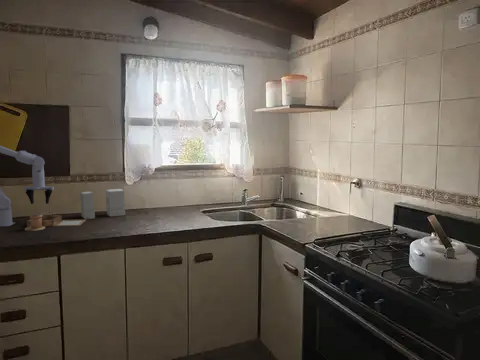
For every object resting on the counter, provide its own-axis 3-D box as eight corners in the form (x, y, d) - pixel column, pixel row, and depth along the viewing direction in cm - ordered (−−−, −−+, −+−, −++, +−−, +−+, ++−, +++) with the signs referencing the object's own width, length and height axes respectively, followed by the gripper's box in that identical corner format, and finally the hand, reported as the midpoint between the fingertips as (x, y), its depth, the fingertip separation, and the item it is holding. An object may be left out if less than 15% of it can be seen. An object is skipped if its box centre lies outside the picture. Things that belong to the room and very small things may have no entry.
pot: (28, 228, 192) (27, 216, 192) (33, 226, 198) (32, 214, 197) (40, 228, 193) (39, 216, 192) (44, 225, 198) (44, 214, 198)
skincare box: (95, 218, 221) (94, 192, 219) (83, 219, 218) (82, 193, 216) (91, 216, 228) (90, 190, 226) (80, 217, 225) (79, 191, 223)
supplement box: (121, 212, 239) (121, 188, 237) (125, 215, 231) (124, 190, 229) (106, 214, 234) (105, 189, 232) (109, 216, 226) (108, 191, 225)
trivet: (21, 232, 190) (21, 230, 189) (29, 227, 198) (29, 225, 198) (41, 231, 191) (41, 229, 191) (47, 227, 200) (47, 225, 200)
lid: (55, 227, 200) (54, 225, 200) (62, 221, 213) (62, 220, 213) (79, 226, 202) (79, 225, 202) (85, 221, 215) (85, 219, 214)
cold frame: (27, 227, 198) (26, 221, 198) (36, 222, 211) (36, 215, 211) (54, 227, 200) (53, 220, 200) (62, 221, 213) (61, 215, 212)
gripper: (21, 179, 205) (22, 205, 207) (50, 179, 207) (51, 204, 209) (26, 178, 212) (27, 202, 214) (54, 177, 214) (55, 202, 216)
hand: (39, 203), depth 212 cm, fingers open, 7 cm apart
